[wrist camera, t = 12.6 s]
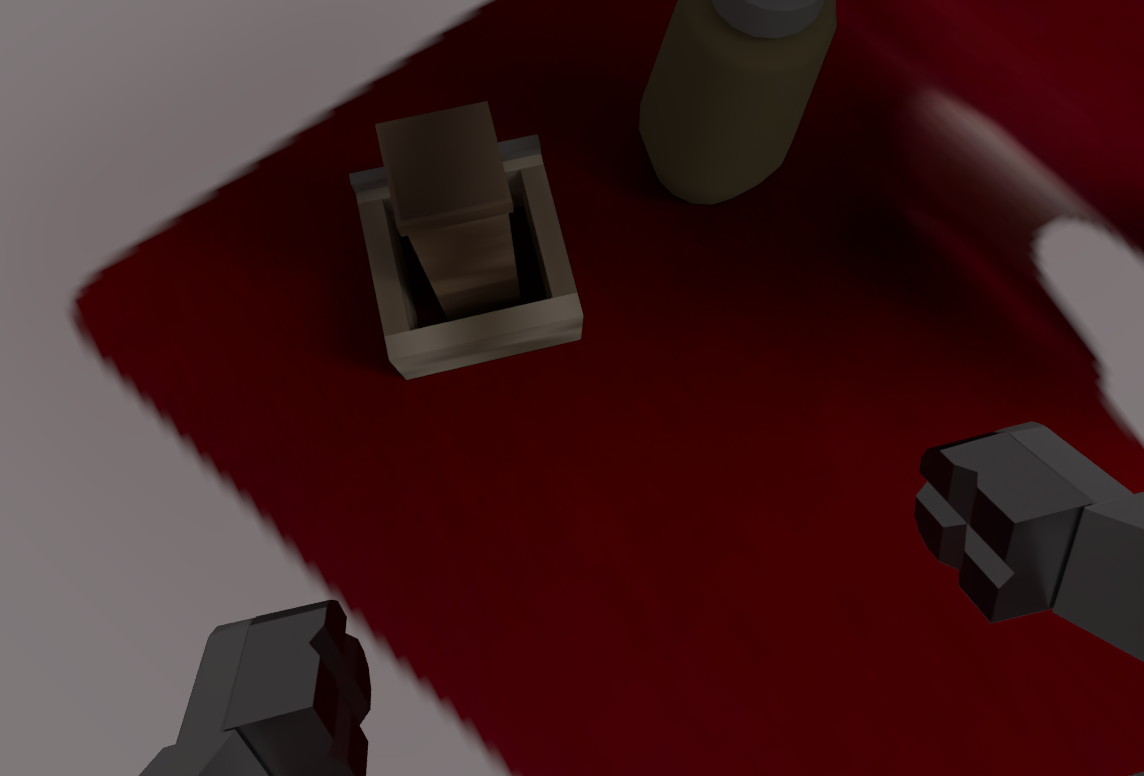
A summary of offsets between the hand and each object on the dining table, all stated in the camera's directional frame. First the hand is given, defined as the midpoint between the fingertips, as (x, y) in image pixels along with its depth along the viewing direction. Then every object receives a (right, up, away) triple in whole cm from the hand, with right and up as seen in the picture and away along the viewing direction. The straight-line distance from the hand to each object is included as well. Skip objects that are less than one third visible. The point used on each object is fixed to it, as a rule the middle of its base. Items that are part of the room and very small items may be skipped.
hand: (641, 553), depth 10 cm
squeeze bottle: (+6, +15, +31) cm, 35 cm away
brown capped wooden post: (-6, +8, +29) cm, 31 cm away
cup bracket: (-6, +8, +29) cm, 31 cm away
